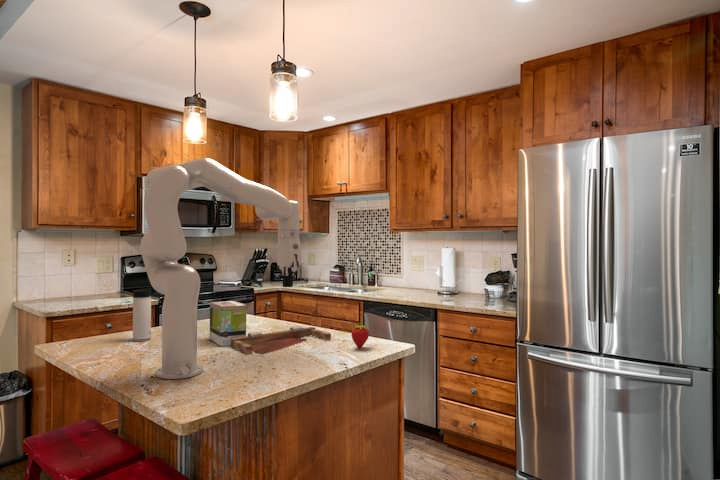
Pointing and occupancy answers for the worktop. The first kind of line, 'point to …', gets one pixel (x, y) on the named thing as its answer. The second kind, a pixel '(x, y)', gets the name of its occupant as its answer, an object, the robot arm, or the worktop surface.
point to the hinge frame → (275, 337)
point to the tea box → (227, 321)
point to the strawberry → (360, 335)
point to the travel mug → (142, 314)
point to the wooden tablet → (275, 345)
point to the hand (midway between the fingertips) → (287, 286)
